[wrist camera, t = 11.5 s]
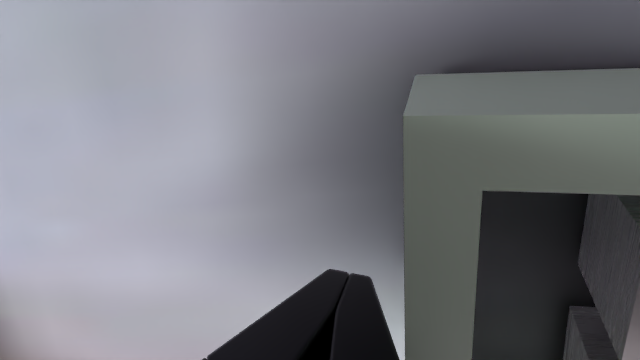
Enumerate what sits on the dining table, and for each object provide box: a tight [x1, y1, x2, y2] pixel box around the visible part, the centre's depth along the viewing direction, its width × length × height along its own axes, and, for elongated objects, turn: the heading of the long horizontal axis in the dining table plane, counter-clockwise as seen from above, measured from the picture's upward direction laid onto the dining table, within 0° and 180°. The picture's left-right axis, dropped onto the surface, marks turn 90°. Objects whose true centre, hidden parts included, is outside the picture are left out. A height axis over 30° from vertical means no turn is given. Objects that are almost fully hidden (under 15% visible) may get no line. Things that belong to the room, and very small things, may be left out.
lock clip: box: [403, 68, 640, 360], centre depth 8 cm, size 8×6×2 cm
